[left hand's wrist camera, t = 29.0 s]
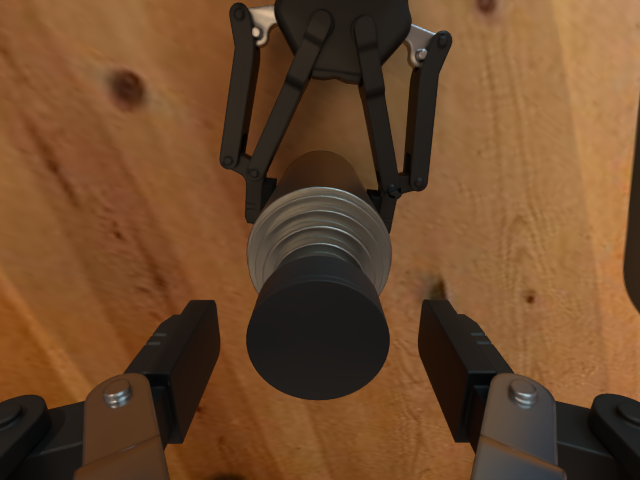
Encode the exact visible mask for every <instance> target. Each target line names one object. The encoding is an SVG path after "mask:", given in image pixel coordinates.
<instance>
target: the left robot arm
mask: <svg viewBox="0 0 640 480" xmlns="http://www.w3.org/2000/svg"><path fill="white" fill-rule="evenodd" d="M418 349H419V355H420V358H421V360H422V363H423V365H424V368H425V370H426V373H427V375H428V377H429V380H430V382H431V385H432V387H433V390H434V392H435V395H436V397H437V399H438V402H439V404H440V407H441V409H442V412H443V414H444V417H445V419H446V421H447V424H448V426H449V429H450V431H451V434H452V436H453V438H454V441H455V443H470V444H471V446H472V448H473V450H474V453H475V459H474V464H473V468H472V473H471V478H470V480H640V402H638V401H636V400H633V399H631V398H628V397H625V396H621V395H616V394H601V395H598V396H596V397H595V399H594V401H593V403H592V406H591V409H589V408H584V407H580V406H576V405H571V404H567V403H563V402H558V401H555V400H554V397H553V396H552V394H551V393H550V392H549V391H548V390H547V389H546V388H545V387H544V386H542V385H541V384H540V383H538V382H536V381H535V380H533V379H531V378H528V377H526V376H523V375H519V374H515V373H514V372H513V371H512V369H511V368H510V367H509V365H508V364H507V363H506V361H505V360H504V359H503V357H502V356H501V355H500V353H499V352H498V351H497V349H496V348H495V346H494V345H493V344H491V341H490V340H489V338H488V337H487V336H485V333H484V332H483V330H482V329H481V328H480V326H479V325H478V324H477V323H476V322H475V321H473V320H472V319H470V318H469V317H467V316H466V315H465V314H457V313H456V311H455V310H454V308H453V307H452V305H451V304H450V302H449V301H448V300H424V301H423V303H422V309H421V317H420V326H419V335H418ZM219 352H220V333H219V324H218V316H217V307H216V303H215V301H214V300H191V301H190V302H189V303H188V304H187V306H186V307H185V309H184V310H183V312H182V313H181V314H180V315H173V316H171V317H170V318H168V319H167V320H166V321H164V322H163V323H161V324H160V325H159V327H158V328H157V329H156V331H155V332H154V333H153V336H151V337H150V339H149V340H148V341H147V343H146V345H144V347H143V348H142V349H141V351H140V352H139V353H138V355H137V356H136V357H135V359H134V360H133V361H132V363H131V364H130V365H129V367H128V368H127V369H126V371H125V372H124V373H123V374H121V375H117V376H114V377H112V378H109V379H107V380H105V381H104V382H102V383H100V384H99V385H98V386H96V387H95V388H94V389H93V390H92V391H91V392H90V393H89V394H88V396H87V397H86V400H85V401H82V402H79V403H75V404H70V405H66V406H62V407H57V408H53V409H49V410H48V408H47V405H46V403H45V400H44V399H43V398H42V397H40V396H37V395H24V396H19V397H15V398H11V399H8V400H6V401H3V402H1V403H0V480H170V478H169V473H168V468H167V464H166V459H165V454H164V450H165V448H166V446H167V444H182V443H183V441H184V438H185V436H186V434H187V431H188V429H189V426H190V424H191V422H192V419H193V417H194V414H195V412H196V410H197V407H198V405H199V402H200V400H201V398H202V395H203V393H204V390H205V388H206V386H207V383H208V381H209V378H210V376H211V374H212V371H213V369H214V366H215V364H216V362H217V359H218V356H219Z"/></svg>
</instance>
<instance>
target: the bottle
mask: <svg viewBox="0 0 640 480" xmlns="http://www.w3.org/2000/svg"><path fill="white" fill-rule="evenodd" d="M308 256H328V257H334V258H338V259H341V260H344V261H346V262H348V263H350V264H352V265H354V266H355V267H357V268H358V269H360V270H361V271H362V272H363V273H364V274H365V275H366V276H367V277H368V278H369V279H370V281H371V282H372V283H373V285H374V287H375V289H376V291H377V293H378V296H379V295H380V294H381V292H382V290H383V288H384V286H385V284H386V281H387V279H388V275H389V271H390V266H391V260H392V246H391V241H390V236H389V234H388V231H387V228H386V226H385V224H384V222H383V220H382V219H381V217H380V215H379V213H378V212H377V210H376V208H375V206H374V205H373V203H372V201H371V199H370V198H369V196H368V194H367V192H366V190H365V189H364V187H363V185H362V183H361V182H360V180H359V178H358V176H357V175H356V173H355V171H354V169H353V168H352V166H351V165H350V164H349V163H348V162H347V161H346V160H345V159H344V158H342V157H341V156H339V155H337V154H335V153H332V152H328V151H313V152H309V153H306V154H304V155H302V156H300V157H298V158H297V159H296V160H294V161H293V163H292V164H291V165H290V166H289V167H288V169H287V170H286V172H285V174H284V175H283V177H282V179H281V180H280V182H279V184H278V185H277V187H276V188H275V190H274V192H273V193H272V195H271V197H270V198H269V200H268V202H267V203H266V205H265V206H264V208H263V210H262V211H261V213H260V215H259V216H258V218H257V220H256V221H255V223H254V225H253V227H252V230H251V232H250V235H249V239H248V243H247V263H248V268H249V273H250V277H251V280H252V283H253V285H254V287H255V289H256V291H257V293H258V294H259V293H260V290H261V288H262V286H263V284H264V283H265V282H266V280H267V279H268V278H269V277H270V275H271V274H272V273H273V272H275V271H276V270H277V269H278V268H280V267H281V266H283V265H284V264H286V263H288V262H291V261H293V260H295V259H299V258H303V257H308Z"/></svg>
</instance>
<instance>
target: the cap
mask: <svg viewBox="0 0 640 480" xmlns="http://www.w3.org/2000/svg"><path fill="white" fill-rule="evenodd" d="M246 344H247V350H248V354H249V357H250V360H251V362H252V364H253V366H254V368H255V369H256V370H257V372H258V373H259V374H260V376H261V377H262V378H263V379H264V380H265V381H266V382H268V383H269V384H270V385H271V386H273V387H274V388H276V389H278V390H279V391H281V392H283V393H286V394H288V395H291V396H294V397H297V398H302V399H308V400H329V399H335V398H339V397H343V396H346V395H349V394H351V393H353V392H355V391H357V390H359V389H361V388H362V387H364V386H365V385H367V384H368V383H369V382H370V381H371V380H372V379H373V378H374V377H375V376H376V375H377V374H378V372H379V371H380V370H381V368H382V366H383V364H384V362H385V360H386V358H387V355H388V351H389V345H390V335H389V329H388V325H387V322H386V319H385V316H384V313H383V309H382V306H381V303H380V300H379V297H378V293H377V291H376V289H375V287H374V285H373V283H372V282H371V281H370V279H369V278H368V277H367V276H366V275H365V274H364V273H363V272H362V271H361V270H360V269H358V268H357V267H355V266H354V265H352V264H350V263H348V262H346V261H344V260H341V259H338V258H334V257H328V256H308V257H303V258H299V259H295V260H293V261H291V262H288V263H286V264H284V265H283V266H281V267H280V268H278V269H277V270H276V271H275V272H273V273H272V274H271V275H270V277H269V278H268V279H267V280H266V282H265V283H264V284H263V286H262V288H261V290H260V293H259V296H258V299H257V301H256V304H255V307H254V310H253V313H252V316H251V319H250V322H249V325H248V328H247V335H246Z"/></svg>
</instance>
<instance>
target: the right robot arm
mask: <svg viewBox="0 0 640 480" xmlns="http://www.w3.org/2000/svg"><path fill="white" fill-rule="evenodd" d="M229 16H230V22H231V27H232V33H233V39H234V44H235V51H234V58H233V65H232V72H231V80H230V87H229V94H228V101H227V108H226V116H225V123H224V130H223V137H222V144H221V152H220V164H221V166H222V167H223V168H225V169H231V170H233V171H235V172H237V173H239V174H241V175H242V176H243V177H244V178H245V180H246V204H245V218H246V221H247V223H251V224H254V223H255V221H256V220H257V218H258V216H259V215H260V213H261V211H262V210H263V208H264V206H265V205H266V203H267V202H268V200H269V198H270V197H271V195H272V193H273V192H274V190H275V188H276V184H277V179H276V178H266V177H267V172H268V169H269V167H270V165H271V163H272V161H273V158H274V156H275V154H276V152H277V150H278V148H279V145H280V143H281V141H282V139H283V137H284V134H285V132H286V130H287V128H288V126H289V124H290V121H291V119H292V117H293V115H294V113H295V111H296V108H297V106H298V104H299V102H300V100H301V98H302V95H303V93H304V92H305V90H306V88H307V86H308V83H309V81H310V79H311V77H312V79H316V80H329V79H337V80H340V81H342V82H344V83H347V84H355V85H357V84H358V88H359V93H360V97H361V100H362V104H363V109H364V115H365V120H366V125H367V130H368V135H369V140H370V146H371V151H372V156H373V161H374V166H375V172H376V177H377V182H378V191H377V190H371V189H367V194H368V196H369V198H370V199H371V201H372V203H373V205H374V206H375V208H376V210H377V212H378V213H379V215H380V217H381V219H382V220H383V222H384V224H385V226H386V228H387V231H388V234H389V233H390V231H391V226H392V221H393V215H394V210H395V205H396V201H397V199H399V198H400V197H401V195H402V194H403V193H407V192H411V191H422V190H424V189H425V188H426V186H427V183H428V174H429V165H430V155H431V145H432V136H433V126H434V116H435V107H436V97H437V87H438V78H439V73H440V70H441V68H442V66H443V63H444V61H445V59H446V56H447V54H448V52H449V49H450V47H451V44H452V37H451V35H450V33H449V32H447V31H440V32H438V33H436V34H435V33H432V32H430V31H428V30H425V29H423V28H421V27H418V26H416V25H414V24H412V19H411V15H410V11H409V7H408V0H276V1H275V4H274V5H268V6H261V7H253V8H247V7H246V6H245V5H244V4H242V3H235V4H233V5H232V6H231V8H230V11H229ZM278 26H279V28H280V30H281V32H282V34H283V35H284V37H285V39H286V41H287V43H288V45H289V47H290V49H291V51H292V53H293V55H294V59H293V62H292V64H291V66H290V68H289V71H288V73H287V76H286V79H285V82H284V85H283V87H282V89H281V91H280V94H279V96H278V98H277V101H276V103H275V105H274V107H273V110H272V112H271V114H270V116H269V119H268V121H267V123H266V126H265V128H264V130H263V132H262V135H261V137H260V139H259V142H258V144H257V146H256V148H255V151H254V153H253V155H252V156H250V155H248V154H245V151H246V145H247V139H248V133H249V127H250V121H251V115H252V108H253V102H254V96H255V90H256V84H257V78H258V72H259V65H260V48H263V47H265V46H266V45H267V44H268V42H269V37H270V32H271V31H272V29H274V28H275V27H278ZM401 44H404V45H405V46H406V47H407V50H408V56H407V62H408V64H409V65H410V66H411V67H412V68H413V71H412V75H411V80H410V88H409V101H408V114H407V127H406V140H405V153H404V166H403V172H401V173H398V170H397V165H396V159H395V153H394V147H393V141H392V135H391V129H390V124H389V118H388V112H387V106H386V100H385V86H384V80H383V74H382V68H381V66H382V65H383V64H384V63H385V62H386V61H387V60H388V58H389V57H390V56H391V55H392V54H393V53H394V52H395V50H396V49H397V48H398V47H399V46H400V45H401Z"/></svg>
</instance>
